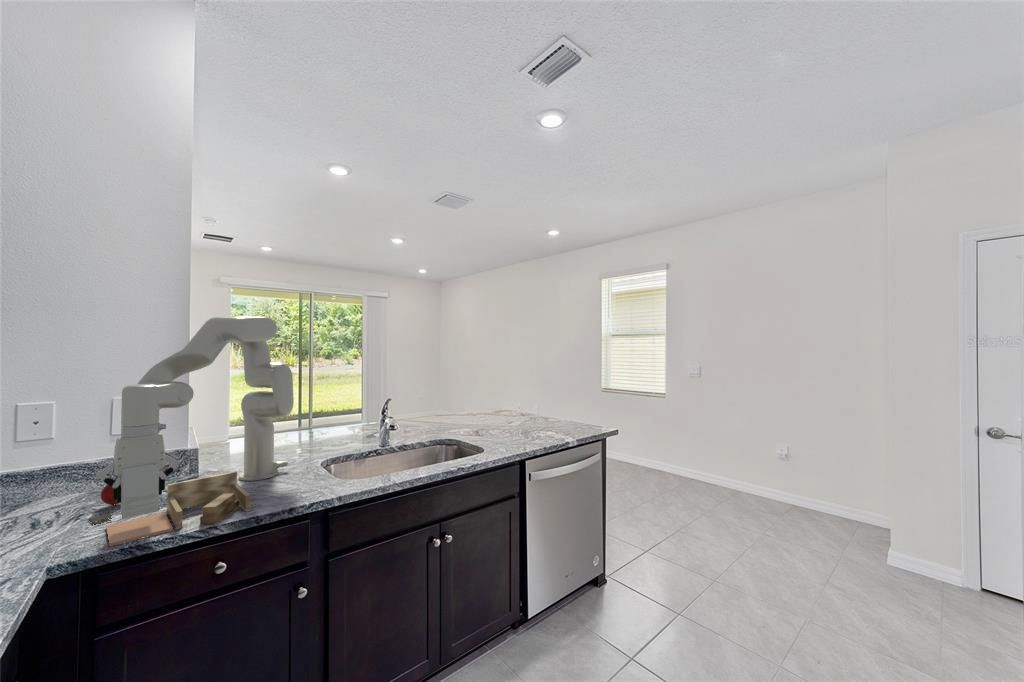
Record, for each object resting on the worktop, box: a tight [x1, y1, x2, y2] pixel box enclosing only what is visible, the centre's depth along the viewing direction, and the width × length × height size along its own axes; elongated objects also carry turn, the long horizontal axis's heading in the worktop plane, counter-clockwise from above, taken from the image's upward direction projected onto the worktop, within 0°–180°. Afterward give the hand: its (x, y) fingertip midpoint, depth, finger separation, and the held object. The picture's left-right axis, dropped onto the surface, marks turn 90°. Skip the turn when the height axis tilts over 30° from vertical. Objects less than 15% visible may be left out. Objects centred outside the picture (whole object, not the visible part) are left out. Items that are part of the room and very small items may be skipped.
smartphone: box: [87, 504, 163, 525], centre depth 119 cm, size 7×1×15 cm
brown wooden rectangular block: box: [199, 493, 240, 526], centre depth 119 cm, size 12×4×5 cm, turn 5°
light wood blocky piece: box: [166, 471, 252, 530], centre depth 122 cm, size 17×16×8 cm
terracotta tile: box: [105, 512, 174, 548], centre depth 109 cm, size 12×14×1 cm
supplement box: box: [120, 463, 160, 520], centre depth 109 cm, size 7×7×13 cm
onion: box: [100, 483, 121, 506], centre depth 125 cm, size 6×6×8 cm
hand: (139, 497), depth 109 cm, fingers closed on supplement box, 7 cm apart
